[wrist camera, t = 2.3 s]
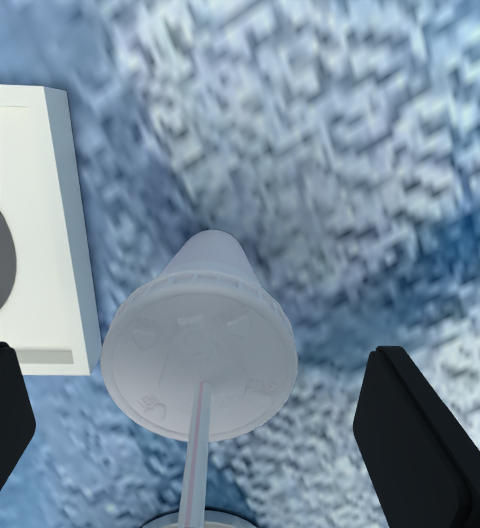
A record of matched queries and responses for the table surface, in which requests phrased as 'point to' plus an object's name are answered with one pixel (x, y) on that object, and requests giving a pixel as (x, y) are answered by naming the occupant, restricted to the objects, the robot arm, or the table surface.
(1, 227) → the pin tray
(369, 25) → the table surface
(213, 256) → the smoothie
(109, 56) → the table surface
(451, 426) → the robot arm
